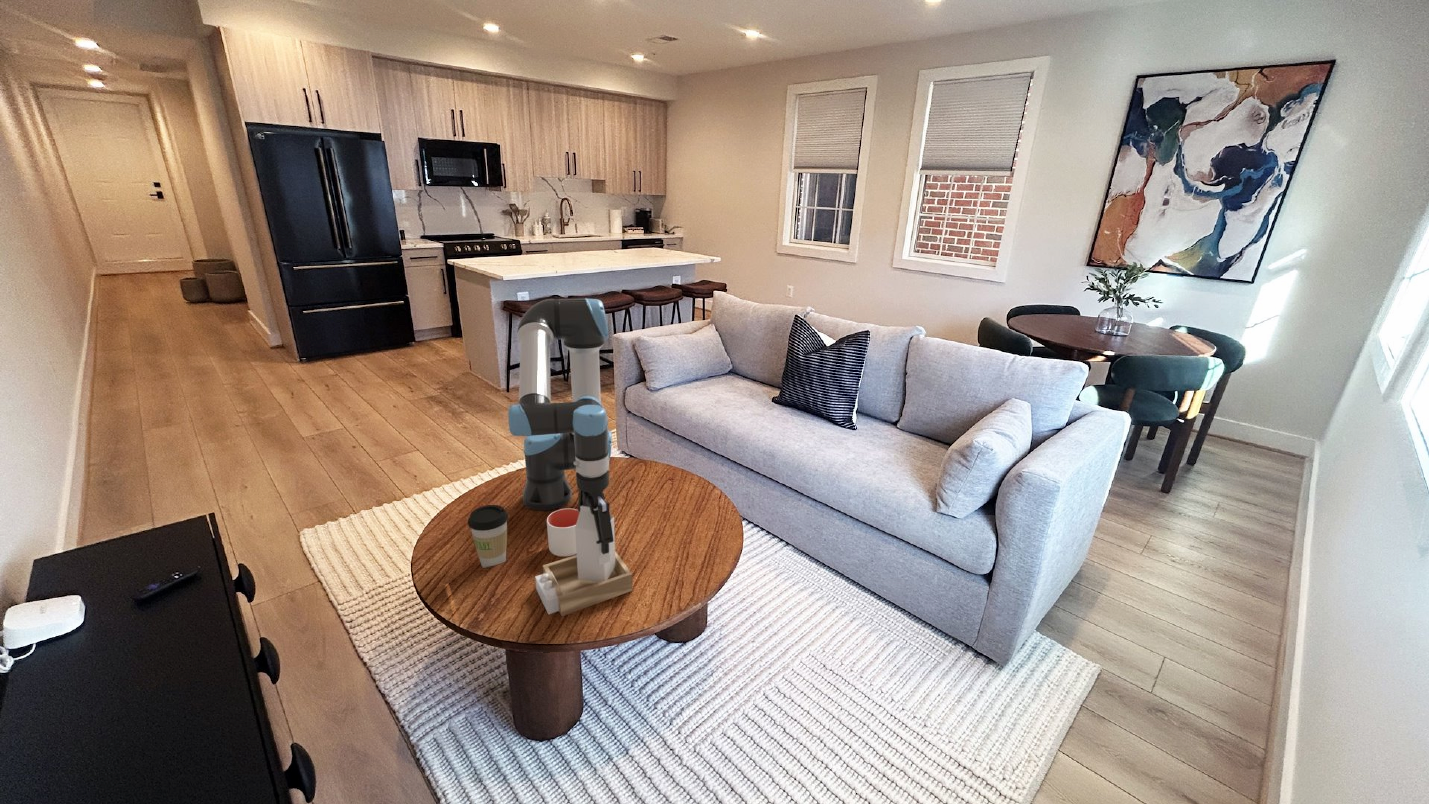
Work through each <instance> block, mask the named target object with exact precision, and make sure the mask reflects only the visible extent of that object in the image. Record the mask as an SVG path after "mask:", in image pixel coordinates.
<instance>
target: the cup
mask: <svg viewBox="0 0 1429 804" xmlns="http://www.w3.org/2000/svg"><path fill="white" fill-rule="evenodd" d="M579 513H580V512H579V511H578V509H577V508H576V509H575V508H560V509H558V510H557V509H556V510H555V511H552V512H551V513H550V514H549V515H548V516H547V518H546V527H547V528H546V529H547V541H548V549H549V552H550V553H551V554H552V555H554V556H558V557H572V556H575V555H577V551H576V534H575V526H576V523H577V520H578V516H579Z"/></svg>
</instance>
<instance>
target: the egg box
mask: <svg viewBox="0 0 1429 804" xmlns="http://www.w3.org/2000/svg"><path fill="white" fill-rule="evenodd" d="M551 573H552V571H551ZM552 575H553V573H552ZM534 577H535V587H536V588H535V589H536V592H537V594H538V596H539V598H540V600H541V602H542V605H543V606H544V608H545V610H546V612H547V615H548V616H549V615H551V614H555V613H557V612H559V604H558V596H557V593H556V588H553V585H552V581H551V580H549V577H548V574H547V573H545V574H543V573H542V574H538V575H535V576H534ZM553 577H554V575H553ZM554 579H555V577H554ZM555 580H556V579H555ZM556 582H557V581H556ZM557 584H558V583H557ZM558 586H559V584H558ZM559 588H560V586H559ZM560 590H561V588H560ZM561 592H562V590H561ZM562 593H563V592H562ZM563 595H564V594H563Z"/></svg>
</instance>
